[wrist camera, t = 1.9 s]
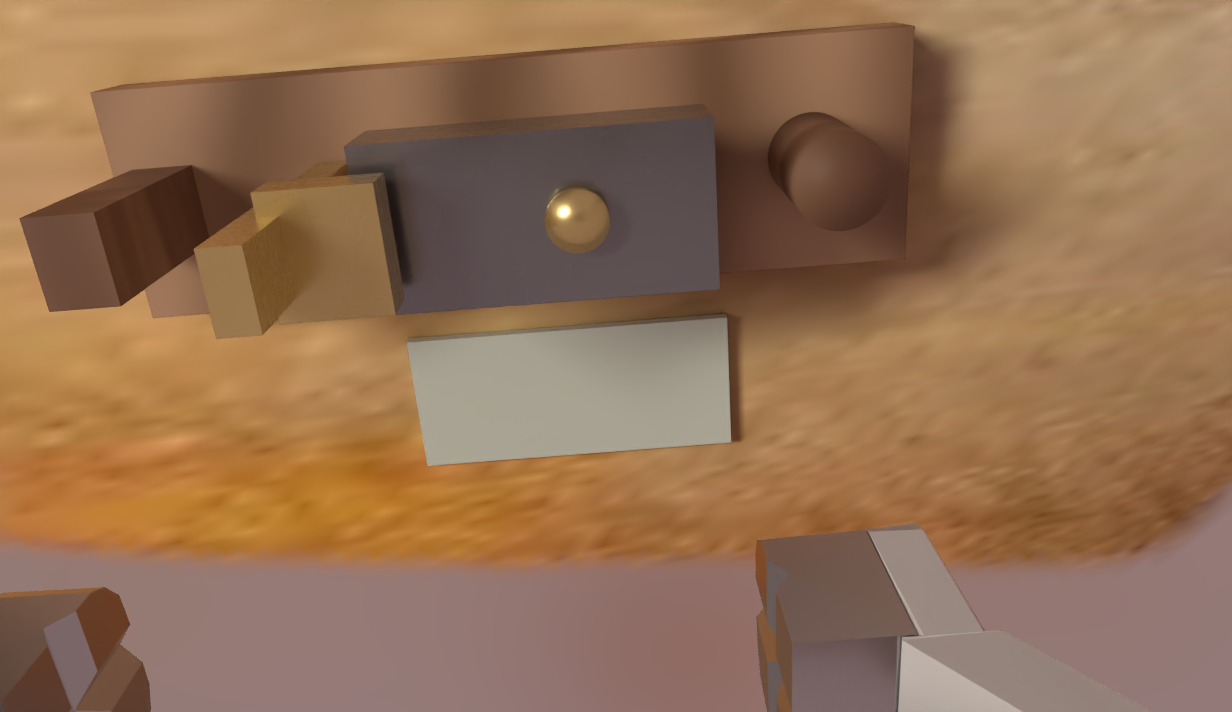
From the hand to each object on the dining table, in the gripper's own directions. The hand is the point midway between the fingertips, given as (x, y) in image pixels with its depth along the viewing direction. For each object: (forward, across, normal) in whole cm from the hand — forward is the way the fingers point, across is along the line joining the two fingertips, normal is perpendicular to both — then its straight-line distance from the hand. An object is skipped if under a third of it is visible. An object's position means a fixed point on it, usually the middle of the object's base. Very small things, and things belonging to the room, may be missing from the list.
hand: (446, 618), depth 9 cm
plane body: (+23, +1, 0) cm, 23 cm away
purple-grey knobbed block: (+18, 0, 0) cm, 18 cm away
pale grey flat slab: (+23, 0, +8) cm, 25 cm away
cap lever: (+21, +5, 0) cm, 22 cm away
